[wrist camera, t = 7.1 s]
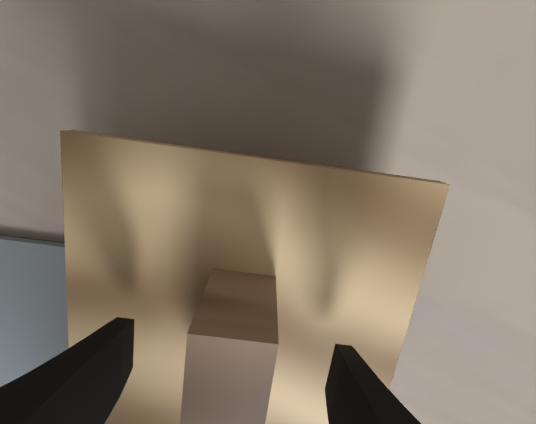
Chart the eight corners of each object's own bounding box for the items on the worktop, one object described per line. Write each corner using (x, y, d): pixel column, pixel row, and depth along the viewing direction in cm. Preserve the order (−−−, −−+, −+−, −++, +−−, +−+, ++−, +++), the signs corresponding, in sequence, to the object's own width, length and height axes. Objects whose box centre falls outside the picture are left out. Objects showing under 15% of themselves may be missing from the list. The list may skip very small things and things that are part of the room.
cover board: (361, 451, 16) (398, 586, 11) (82, 421, 15) (1, 548, 11) (438, 181, 12) (542, 215, 8) (74, 130, 12) (-54, 133, 7)
